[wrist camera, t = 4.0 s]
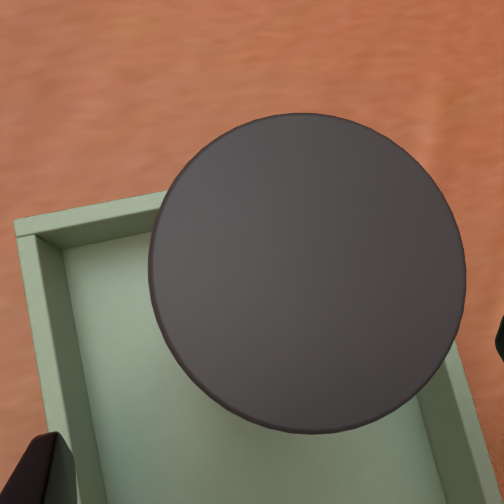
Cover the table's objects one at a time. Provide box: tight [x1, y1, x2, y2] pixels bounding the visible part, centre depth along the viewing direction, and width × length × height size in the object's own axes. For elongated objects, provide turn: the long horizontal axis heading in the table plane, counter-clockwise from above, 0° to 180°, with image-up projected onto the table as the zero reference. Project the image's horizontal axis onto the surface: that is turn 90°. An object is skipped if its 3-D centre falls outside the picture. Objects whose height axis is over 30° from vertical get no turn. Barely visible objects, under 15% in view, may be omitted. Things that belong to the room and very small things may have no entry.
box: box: [13, 190, 504, 504], centre depth 16 cm, size 17×13×4 cm
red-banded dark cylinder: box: [148, 113, 466, 435], centre depth 12 cm, size 5×5×12 cm
